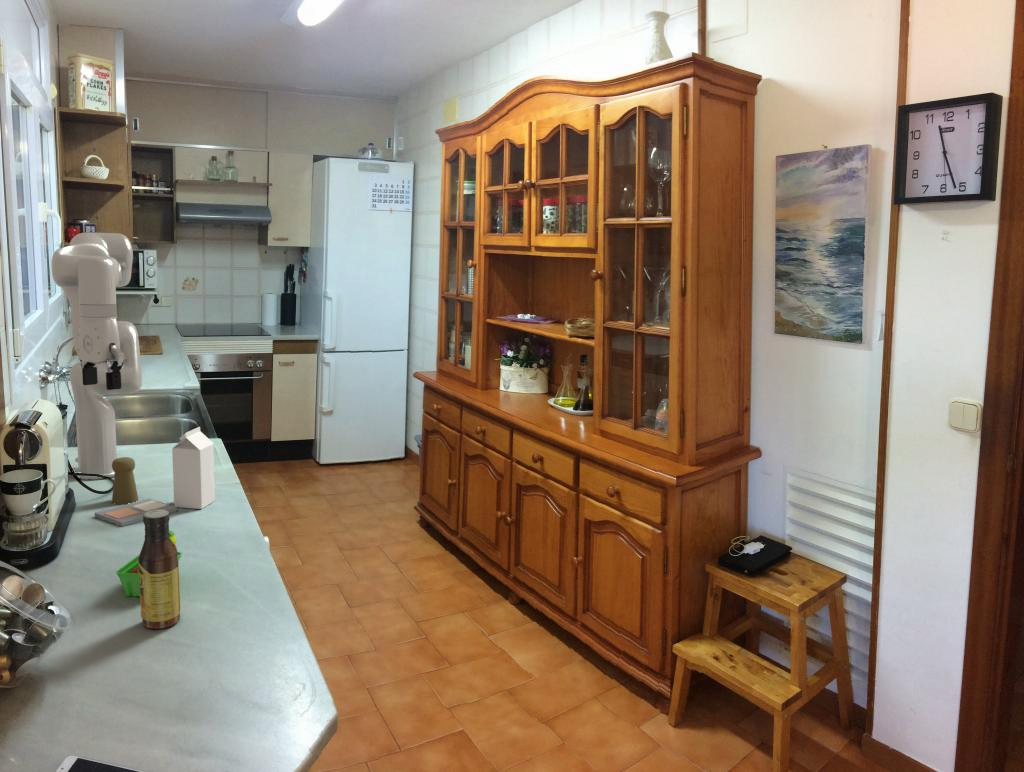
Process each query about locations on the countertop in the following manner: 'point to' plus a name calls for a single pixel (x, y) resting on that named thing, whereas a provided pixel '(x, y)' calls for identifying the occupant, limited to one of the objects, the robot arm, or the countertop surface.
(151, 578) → the sauce bottle
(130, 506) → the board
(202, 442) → the milk carton
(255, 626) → the countertop surface
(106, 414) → the robot arm
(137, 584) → the fruit basket
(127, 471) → the cork
